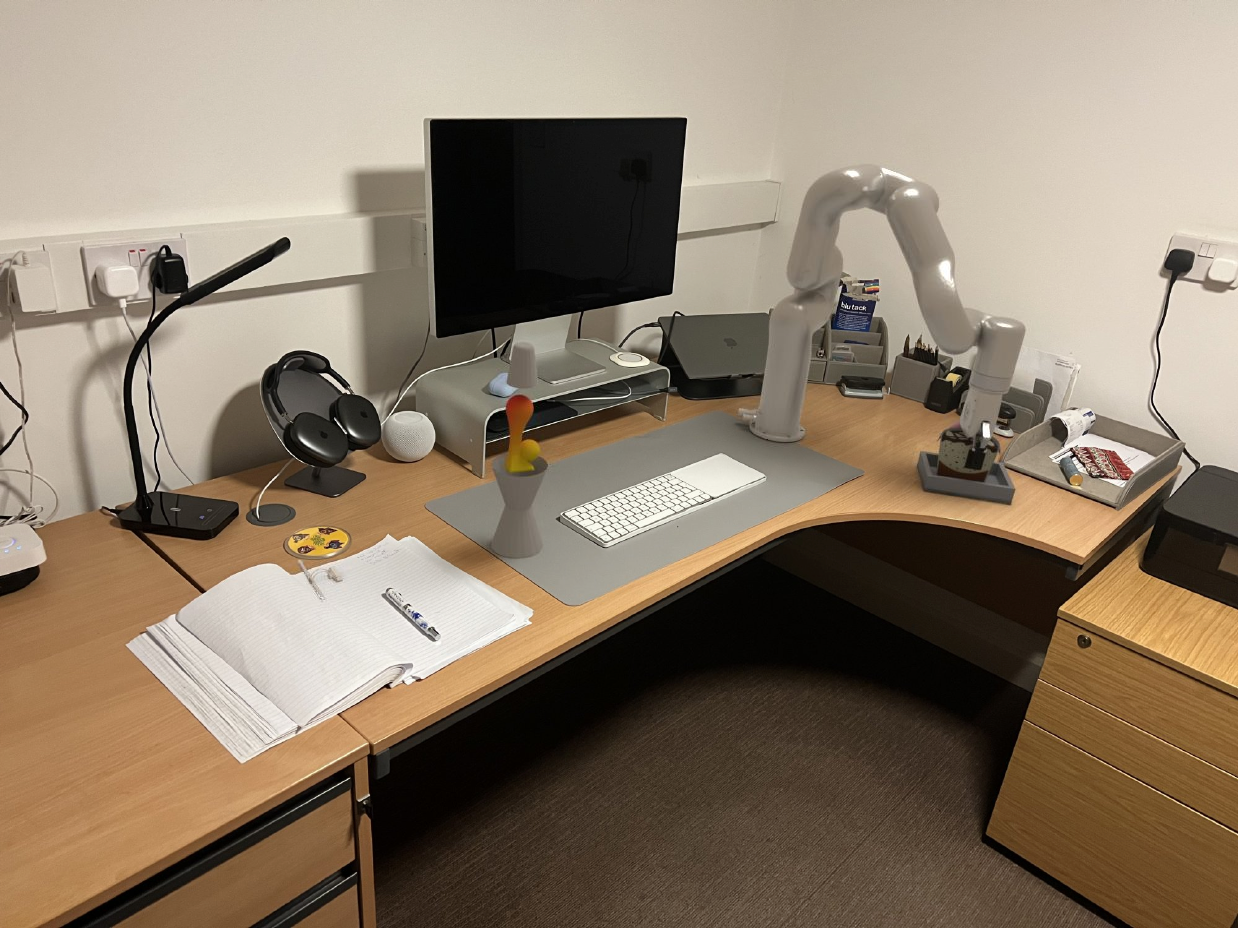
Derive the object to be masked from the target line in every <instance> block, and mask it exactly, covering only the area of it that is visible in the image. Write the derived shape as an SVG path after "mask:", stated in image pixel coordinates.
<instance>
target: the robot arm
mask: <svg viewBox="0 0 1238 928" xmlns="http://www.w3.org/2000/svg"><path fill="white" fill-rule="evenodd" d="M864 208H867V209H870V210H871V211H875V212H876V213H879V214H883V215H885V216H886V219H887V221H888V224H889V226H890V228H891V230H892V233H893V235H894V238H895V240H896V241H897V244H898V246H899V248H900V251H901V253H902V256H903V257H904V260H905V262H906V264H907V267H908V269H909V271H910V273H911V277H912V284H913V287H914V290H915V295H916V299H917V303H918V306H919V310H920V312H921V315H922V317H923V320H924V322H925V325H926V328H927V329H928V331H929V333H930V335H931V337H932V340H933V342H934V343H935V345H936V346H937V347H938V348H939V350H941V351H942V352H943V353H945V354H947V355H953V356H958V355H963V354H964V353H967V352H968V351H970V349H972V348H973V347H976V348H977V351H976V354H975V358H974V363H973V366H972V368H971V369H972V370H971V373H970V376H969V377H970V378H969V379H968V386H969V389H968V392H967V395H966V399H965V402H964V404H963V409H962V411H961V414H960V418H959V421H960V425H961V428H962V430H963V433H964V435H965V436H966V437H967V438H969V437H972V444H971V449H969V451H968V455H967V459H966V462H965V468H967V469H974V470H981V469H982V466H983V462H984V459H985V455H986V452H987V448H988V447H987V446H988V442H989V440H990V439H991V438H992V436H993V435H994V432H995V428H996V425H997V421H998V417H999V414H1000V411H1001V410H1000V409H1001V404H1002V400H1003V396H1004V395H1006V394H1008V393H1009V391H1010V387H1011V384H1012V381H1013V379H1014V378H1013V377H1014V373H1015V370H1016V367H1017V363H1018V359H1019V356H1020V352H1021V349H1022V345H1023V343H1024V338H1025V335H1026V325H1025V324H1024V323H1023V322H1022V321H1019V320H1017V319H1014V318H1011V317H1005V316H994V315H992V314H990V313H985V312H983V311H982V310H981V311H980V310H979V309H974V308H971V307H963V304H962V301H961V299H960V296H959V294H958V290H957V285H956V281H955V279H956V278H955V266H956V258H955V253H954V249H953V248H952V246H951V244H950V242H949V239H948V237H947V234H946V232H945V230H944V227H943V226H942V224H941V221H940V218H939V216H938V214H937V213H938V212H939V208H940V198H939V195H938V192H937V191H936V190H935V189H934V188H933V186H931V185H929V184H927V183H926V182H923V181H921V180H918V179H915V178H912V177H909V176H907V175H904V174H902V173H898V172H895V171H893V170H890V169H888V168H885V167H882V166H880V165H876V164H872V163H862V164H861V163H860V164H855V165H849V166H845V167H841V168H838V169H835V170H832V171H829V172H827V173H825V174H823V175H821V176H820V177H818V178H817V179H816V180H815V181H814V182H813V183H812V184H811V185H810V187H809V188H808V189H807V191H806V193H805V195H804V198H803V201H802V204H801V209H800V212H799V213H800V214H799V216H798V217H799V218H798V220H797V221H798V222H797V225H796V226H797V227H796V228H795V233H794V236H793V241H792V244H791V249H790V254H789V255H788V256H789V257H788V260H787V265H786V272H785V273H786V278H787V281H788V283H789V285H791V287H792V288H793V289H794V291H793V293H792V294H790V295H788V296H786V297H784V298H782V299H781V300H780V301H779V302H778V303H777V304H776V305H775V306H774V308H773V310H772V311H771V312H770V317H769V323H768V347H767V354H766V361H765V362H766V363H765V369H764V374H763V381H762V387H761V395H760V399H759V401H760V402H759V405H757V408H756V409H755V408H753V409H747V408H742V407H739V408H738V414H737V417H742V420H743V421H749V422H750V423H749V430H750V432H752V434H754V435H755V436H757V437H759V438H762V439H764V440H767V439H768V441H771V442H772V441H773V442H779V443H792V442H797V441H800V440H802V439H803V438H805V434H806V429H805V428H804V427H803V425H801V424H800V423H801V416H802V413H803V408H804V407H803V406H804V401H805V395H806V394H805V393H806V390H807V383H808V378H809V373H810V366H811V362H812V361H811V360H812V349H813V345H812V343H813V342H812V340H813V335H814V333H816V332H817V331H818V330H820V329H822V327H823V326H824V325H825V324H826V323H828V321H829V319H830V317H831V314H832V312H833V308H834V305H835V300H836V298H837V297H836V296H837V294H838V290H839V287H840V282H841V279H842V275H843V269H844V257H843V253H842V251H841V250H840V249H839V247H838V246H837V245H836V241H837V238H838V236H839V231H840V226H841V225H840V223H841V218H842V216H843V214H844V213H846V212H850V211H856V210H861V209H864ZM976 434H977V435H981V436H976ZM976 440H979V441H980V442H978V443H977V444H976Z"/></svg>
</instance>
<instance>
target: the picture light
mask: <svg viewBox="0 0 1238 928" xmlns="http://www.w3.org/2000/svg"><path fill="white" fill-rule="evenodd" d="M297 564H298V565H299V567H300V569H301V570H302V572H303V573H304V575H305V574H306V575H305V577H306V578H307V579H308V582H309V584H310V585H311V584H312V585H313V586H312V585H311V586H312V588H313V587H314V588H313V589H315V590H316V591H315V590H314V591H315V593H316V592H318V594H319V595H320V597H323V598H324V599H323V600H326V601H327V598H325V596H324V594H323V593H322V592H321V590H320V589H319V587H318V585H317V583H316V582H315V580H314V578H315V577H316V575H318V574H319V573H327V575H328V577H329V578H330V579H333V580H335V581H336V582H337V583H340V582H343V578H342V574H340V572H339V571H338V569H337V568H336V566H335V565H334V566H330V567H329V568H328V569H326V568H323V567H322V568H317V569H316V570H314V571H313V572H312V573H311V574H310V572H309V571H308V569H307V568H306V566H305V565H304V562H303V561H302V560H301V559H298V560H297ZM319 570H321V571H319ZM328 570H329V571H328ZM317 571H318V572H317ZM315 572H316V573H315ZM314 573H315V574H314ZM313 574H314V576H313ZM318 594H317V595H318Z"/></svg>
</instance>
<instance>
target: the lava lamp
mask: <svg viewBox="0 0 1238 928" xmlns="http://www.w3.org/2000/svg"><path fill="white" fill-rule="evenodd" d="M510 356H511V357H510V363H509V367H508V373H507V377H506V384H507V385H508V386H510V387H512V388H516V389H523V390H524V389H525V390H526V389H527V390H528V389H533V388H536V387H538V386H539V377H538V369H537V360H536V352H535V347H534V344H532V343H530V342H526V341H525V342H524V341H520V342H516V343H515V344H514V345H513V347H512V352H511V355H510ZM505 412H506V413H505V414H506V417H507V421H508V426H509V427H508V429H509V445H508V452H507V453H504V454H503V453H502V454H500V455H498V456H496V457H495V458H494V459H492V462H491V467H492V471H493V474H494V477H495V479H496V482H497V485H498V488H499V491H500V493H501V496H502V499H503V502H504V505H505V506H504V507H503V510H502V512H501V516H500V518H499V521H498V524H497V527H496V529H495V532H494V535H493V538H492V540H491V543H490V545H491V549H492V551H494V552H495V553H497V554H498V555H500V556H502V557H505V558H506V557H507V558H510V559H511V558H512V559H525V558H529V557H534V556H536V555H537V554H539V553H540V552H541V551H542V550H543V548H544V543H543V540H542V537H541V532H540V530H539V526H538V524H537V519H536V516H535V513H534V510H533V503H534V501H535V499H536V496H537V494H538V491H539V489H540V487H541V485H542V483H543V481H544V478H545V475H546V472H547V469H548V467H549V465H548V464H549V463H548V462H547V460H545V459H544V458H543V457H541V456H540V455H541V454H540V453H541V447H540V444H538V442H537V441H535V440H534V439H525V440H522V439H523V433H524V431H525V428H526V426H527V424H528V423H529V420H530V419H531V417H532V416H533V413H534V404H533V402H532V400H531V399H530V398H529V397H528V396H526V395H524V394H514V395H512V396H511V397H510V398H509V399H508V400H507V401H506V404H505Z"/></svg>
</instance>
